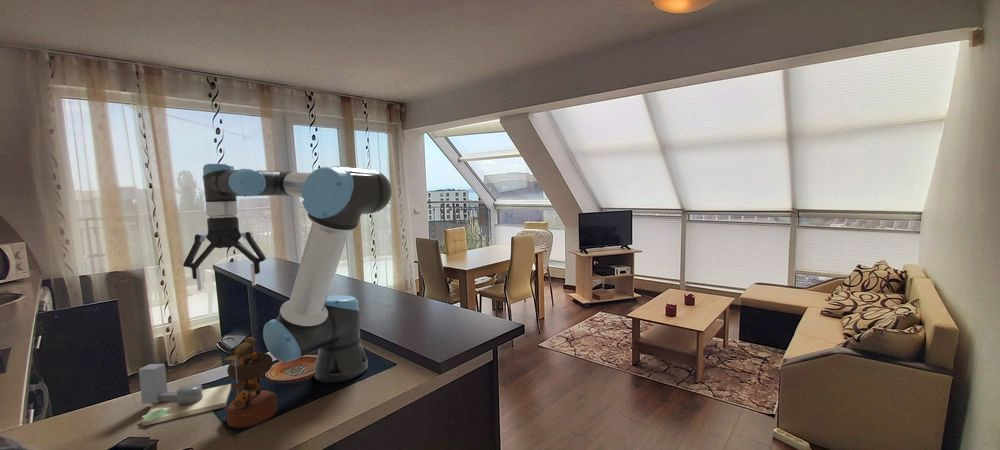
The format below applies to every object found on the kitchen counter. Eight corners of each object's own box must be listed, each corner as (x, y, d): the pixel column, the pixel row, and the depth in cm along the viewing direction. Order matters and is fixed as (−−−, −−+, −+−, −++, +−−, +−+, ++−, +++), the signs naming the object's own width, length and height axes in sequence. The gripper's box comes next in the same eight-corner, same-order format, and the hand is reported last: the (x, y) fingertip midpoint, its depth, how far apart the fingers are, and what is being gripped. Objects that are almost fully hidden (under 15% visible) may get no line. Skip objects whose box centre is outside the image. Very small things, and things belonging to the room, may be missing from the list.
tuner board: (231, 387, 107) (230, 383, 107) (224, 409, 97) (224, 404, 97) (153, 404, 99) (152, 399, 99) (136, 429, 89) (135, 424, 89)
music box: (270, 426, 89) (255, 345, 87) (216, 439, 86) (200, 355, 84) (288, 393, 104) (276, 322, 101) (242, 403, 101) (229, 330, 99)
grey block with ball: (207, 394, 101) (204, 361, 100) (192, 405, 96) (189, 370, 95) (156, 395, 101) (152, 362, 100) (138, 406, 96) (134, 371, 95)
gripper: (273, 214, 121) (277, 280, 123) (175, 217, 112) (182, 288, 114) (268, 215, 114) (273, 285, 116) (164, 219, 105) (171, 294, 107)
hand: (228, 287), depth 115 cm, fingers open, 13 cm apart
